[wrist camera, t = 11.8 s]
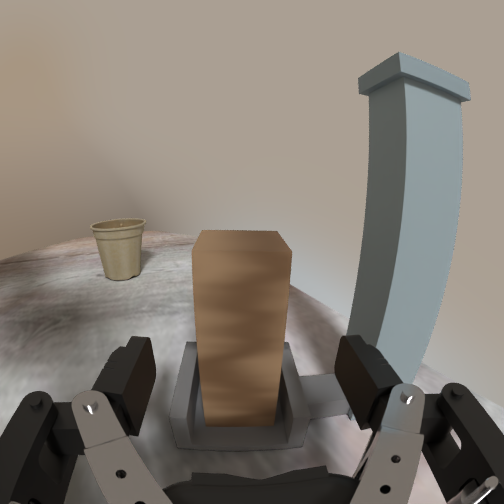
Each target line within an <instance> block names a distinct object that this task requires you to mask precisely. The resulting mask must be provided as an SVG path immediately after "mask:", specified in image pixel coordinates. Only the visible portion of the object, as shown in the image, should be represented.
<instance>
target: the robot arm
mask: <svg viewBox="0 0 504 504" xmlns="http://www.w3.org/2000/svg"><path fill="white" fill-rule="evenodd" d="M335 376H336V379H337V381H338V383H339V385H340V387H341V389H342V391H343V393H344V395H345V398H346V400H347V402H348V404H349V406H350V408H351V410H352V412H353V414H354V417H355V419H356V421H357V423H358V425H359V427H360V430H364V429H368V428H371V429H372V431H373V432H372V434H371V436H370V438H369V441H368V443H367V446H366V448H365V451H364V453H363V455H362V458H361V460H360V462H359V464H358V467H357V469H356V471H355V473H354V474H353V476H352V477H349V476H345V475H340V474H332V473H328V471H327V468H326V466H320V467H314V468H307V469H300V470H293V471H290V472H287V473H284V474H281V475H277V476H274V477H271V478H267V479H263V480H257V479H250V478H244V477H239V476H233V475H228V474H210V473H192V479H191V481H184V482H180V483H176V484H173V485H171V486H168V487H166V488H164V489H161V487H160V486H159V485H158V483H157V482H156V480H155V479H154V478H153V476H152V475H151V473H150V472H149V470H148V469H147V467H146V466H145V464H144V463H143V461H142V459H141V458H140V456H139V455H138V453H137V451H136V450H135V448H134V446H133V445H132V443H131V441H130V439H129V438H128V436H129V435H133V436H138V435H139V432H140V428H141V425H142V422H143V418H144V415H145V411H146V408H147V405H148V402H149V398H150V395H151V392H152V389H153V386H154V382H155V379H156V365H155V360H154V355H153V349H152V344H151V340H150V338H149V337H138V336H132V337H131V338H130V340H129V342H128V343H127V345H126V347H121V346H120V347H119V348H118V349H116V350H115V351H114V352H112V354H111V355H110V357H109V359H108V362H106V364H105V366H104V369H102V371H101V373H100V375H99V376H98V378H97V380H96V382H95V384H94V385H93V387H92V389H91V390H90V391H84V392H82V393H80V394H78V395H77V396H76V397H75V398H74V399H73V401H72V402H53V400H52V398H51V396H50V395H49V394H48V393H46V392H43V391H35V392H32V393H29V394H28V395H26V396H25V397H24V398H23V400H22V401H21V403H20V405H19V406H18V408H17V410H16V411H15V413H14V415H13V416H12V418H11V420H10V421H9V423H8V425H7V426H6V428H5V430H4V432H3V434H2V435H1V437H0V504H64V500H65V496H66V493H67V489H68V486H69V482H70V479H71V476H72V473H73V469H74V466H75V463H76V460H77V457H78V455H86V458H87V460H88V462H89V465H90V467H91V469H92V472H93V474H94V476H95V478H96V480H97V483H98V485H99V487H100V489H101V491H102V493H103V495H104V497H105V499H106V500H107V502H108V504H407V503H408V500H409V497H410V493H411V490H412V487H413V483H414V480H415V476H416V472H417V468H418V464H419V459H420V455H421V451H422V453H423V455H424V457H425V459H426V461H427V463H428V465H429V467H430V469H431V471H432V473H433V475H434V477H435V479H436V481H437V483H438V485H439V487H440V489H441V492H442V494H443V496H444V498H445V500H446V503H447V504H504V435H503V433H502V432H501V430H500V429H499V428H498V426H497V425H496V424H495V422H494V421H493V420H492V419H491V417H490V416H489V415H488V413H487V412H486V411H485V409H484V408H483V407H482V406H481V404H480V403H479V402H478V401H477V399H476V398H475V397H474V396H473V394H472V393H471V392H470V391H469V390H468V389H467V388H466V387H465V386H464V385H462V384H459V383H449V384H446V385H445V386H444V387H443V389H442V391H441V393H440V394H424V392H423V391H422V390H421V389H420V388H419V387H417V386H415V385H413V384H409V383H403V381H402V380H401V379H400V377H399V376H398V375H397V373H396V372H395V371H394V369H393V368H392V367H391V365H390V364H389V363H388V361H387V360H386V359H384V356H383V355H382V353H381V352H380V351H379V350H378V349H377V348H375V347H374V346H372V345H371V344H366V343H365V341H364V340H363V339H362V337H361V336H360V335H359V334H357V335H347V336H342V337H341V339H340V343H339V348H338V352H337V357H336V361H335ZM452 429H454V431H455V432H456V434H457V435H458V437H459V439H460V440H461V450H460V449H459V447H458V445H457V444H456V442H455V440H454V439H453V437H452V436H451V434H450V432H451V430H452Z"/></svg>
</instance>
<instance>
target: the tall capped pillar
mask: <svg viewBox="0 0 504 504" xmlns="http://www.w3.org/2000/svg"><path fill="white" fill-rule="evenodd" d="M358 84H359V94H362V95H367V96H369V163H368V164H369V165H368V183H367V197H366V209H365V220H364V230H363V239H362V247H361V254H360V262H359V268H358V275H357V282H356V288H355V293H354V299H353V304H352V310H351V315H350V320H349V325H348V330H347V334H346V336H347V335H357V334H359V335H360V336H361V337H362V339H363V340H364V341H365V343H366V344H371V345H372V346H374V347H375V348H377V349H378V350H379V351H380V352H381V353H382V355H383V356H384V359H386V360H387V361H388V363H389V364H390V365H391V367H392V368H393V369H394V371H395V372H396V373H397V375H398V376H399V377H400V379H401V380H402V381H403V383H409V384H412V383H413V381H414V378H415V376H416V374H417V371H418V369H419V366H420V364H421V361H422V359H423V356H424V354H425V351H426V348H427V346H428V343H429V340H430V337H431V334H432V331H433V328H434V325H435V322H436V319H437V316H438V312H439V309H440V305H441V302H442V298H443V294H444V291H445V287H446V282H447V278H448V274H449V270H450V265H451V260H452V255H453V250H454V244H455V237H456V232H457V225H458V217H459V208H460V198H461V185H462V165H463V133H462V112H461V102H465V101H470V100H471V97H470V89H469V83H468V82H466V81H465V80H463V79H461V78H459V77H457V76H455V75H453V74H451V73H449V72H447V71H445V70H442V69H440V68H438V67H436V66H434V65H431V64H429V63H426V62H424V61H422V60H419V59H417V58H414V57H412V56H409V55H406V54H403V53H401V52H398V53H396V54H394V55H393V56H391V57H390V58H388V59H386V60H385V61H383V62H382V63H380V64H379V65H377V66H376V67H374V68H373V69H371V70H370V71H368V72H367V73H365V74H364V75H362V76H361V77H359V78H358ZM344 414H348V415H349V417H350V420H354V419H355V417H354V414H353V412H352V410H351V408H350V406H349V404H348V402H347V400H346V398H345V395H344V393H343V391H342V389H341V387H340V385H339V383H338V381H337V379H336V376H335V373H333V374H323V375H312V376H300V377H299V375H298V372H297V369H296V365H295V362H294V359H293V356H292V352H291V349H290V346H289V343H288V342H284V348H283V357H282V366H281V375H280V383H279V391H278V399H277V406H276V414H275V421H274V426H257V427H206V425H205V417H204V409H203V401H202V392H201V383H200V373H199V363H198V352H197V342H186V346H185V350H184V354H183V358H182V362H181V366H180V370H179V374H178V379H177V383H176V387H175V392H174V396H173V400H172V405H171V409H170V414H169V420H170V423H171V427H172V431H173V434H174V438H175V441H176V445H177V448H184V449H197V450H218V451H252V450H273V449H286V448H297V447H302V446H303V442H304V439H305V435H306V432H307V428H308V425H309V421H310V419H316V418H324V417H331V416H337V415H344Z"/></svg>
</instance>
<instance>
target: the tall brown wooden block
mask: <svg viewBox="0 0 504 504" xmlns="http://www.w3.org/2000/svg"><path fill="white" fill-rule="evenodd" d="M291 260H292V251H291V249H290V248H289V247H288V245H287V244H286V243H285V241H284V240H283V239H282V237H281V236H280V234H279V233H278V232H277V231H243V230H242V231H241V230H240V231H239V230H237V231H236V230H202V231H201V233H200V235H199V237H198V239H197V241H196V243H195V245H194V247H193V249H192V274H193V295H194V312H195V327H196V340H197V352H198V363H199V373H200V383H201V392H202V401H203V409H204V417H205V425H206V427H257V426H274V421H275V414H276V406H277V399H278V391H279V383H280V375H281V366H282V357H283V348H284V339H285V329H286V319H287V308H288V297H289V286H290V274H291Z"/></svg>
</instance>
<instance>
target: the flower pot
mask: <svg viewBox="0 0 504 504" xmlns="http://www.w3.org/2000/svg"><path fill="white" fill-rule="evenodd" d="M144 224H146V220H144V219H135V218H128V219H115V220H108V221H102V222H98V223H95V224H92V225H91V226H90V229H91V230H93V234H94V237H95V238H96V242H97V246H98V250H99V254H100V258H101V262H102V265H103V269H104V273H105V277H106V278H110V279H111V280H127V279H130V278H131V277H132V276H137V275H139V274H140V263H141V243H142V233H143V231H144Z"/></svg>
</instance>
